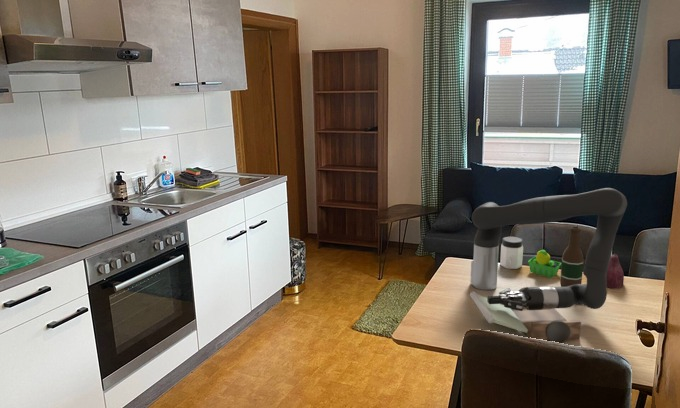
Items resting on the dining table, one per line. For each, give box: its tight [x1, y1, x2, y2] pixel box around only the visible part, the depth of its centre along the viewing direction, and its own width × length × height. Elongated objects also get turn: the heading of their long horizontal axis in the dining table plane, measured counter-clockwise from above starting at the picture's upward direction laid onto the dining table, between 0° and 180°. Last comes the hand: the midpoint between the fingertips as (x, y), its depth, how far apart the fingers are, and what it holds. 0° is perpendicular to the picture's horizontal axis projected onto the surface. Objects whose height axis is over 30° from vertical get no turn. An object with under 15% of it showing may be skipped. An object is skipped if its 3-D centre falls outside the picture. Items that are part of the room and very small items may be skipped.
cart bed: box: [511, 286, 582, 344], centre depth 167 cm, size 15×27×7 cm, turn 2°
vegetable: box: [606, 253, 625, 290], centre depth 195 cm, size 10×10×15 cm
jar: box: [499, 236, 524, 270], centre depth 217 cm, size 9×8×12 cm
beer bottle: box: [559, 226, 585, 287], centre depth 193 cm, size 8×8×24 cm
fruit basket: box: [527, 249, 562, 279], centre depth 207 cm, size 11×9×11 cm
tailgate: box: [469, 291, 528, 334], centre depth 167 cm, size 2×19×14 cm
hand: (488, 300), depth 165 cm, fingers closed
